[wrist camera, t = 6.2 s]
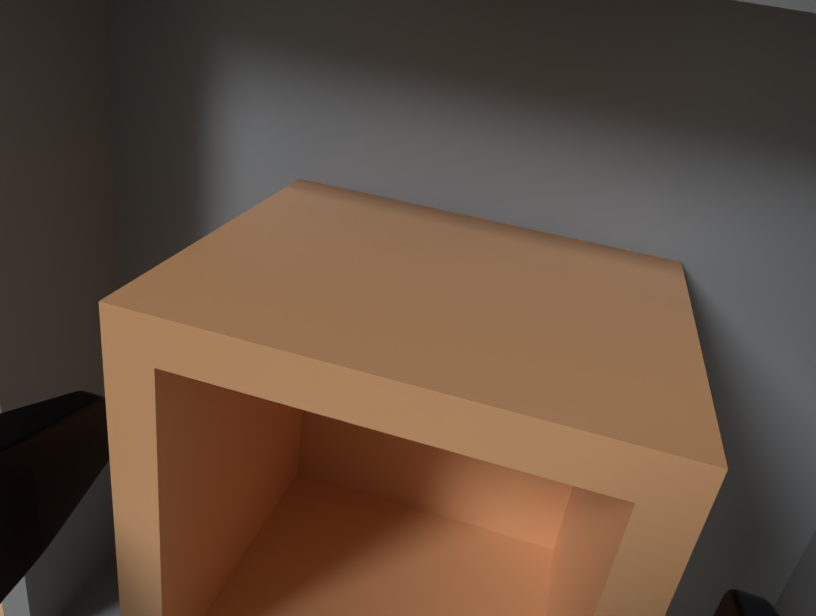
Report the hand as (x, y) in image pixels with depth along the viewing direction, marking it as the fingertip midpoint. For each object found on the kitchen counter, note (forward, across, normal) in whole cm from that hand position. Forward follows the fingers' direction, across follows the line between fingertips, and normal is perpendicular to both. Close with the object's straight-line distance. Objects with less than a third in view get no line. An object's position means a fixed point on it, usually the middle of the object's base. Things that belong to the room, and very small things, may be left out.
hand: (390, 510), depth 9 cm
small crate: (+4, 0, 0) cm, 4 cm away
